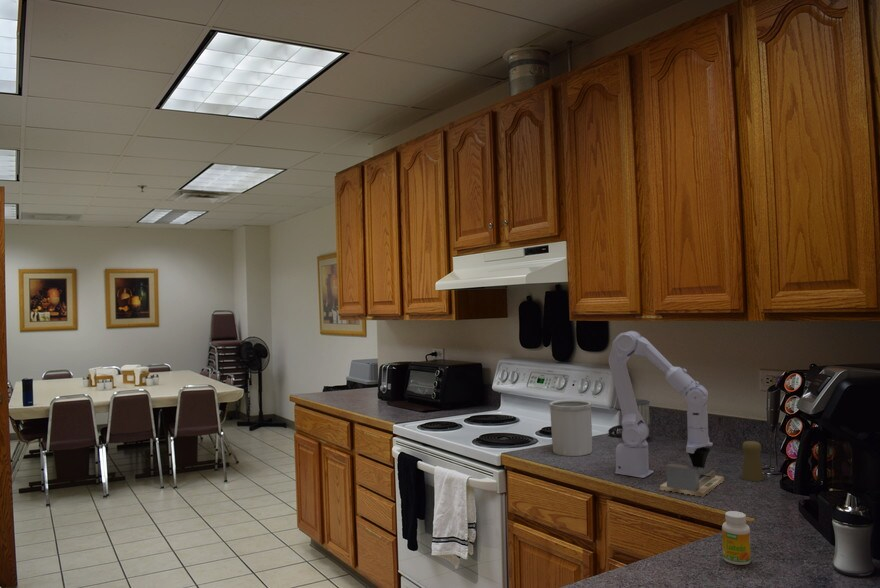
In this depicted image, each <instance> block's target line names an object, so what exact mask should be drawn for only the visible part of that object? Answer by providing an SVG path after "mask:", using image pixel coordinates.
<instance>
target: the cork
mask: <svg viewBox="0 0 880 588" xmlns="http://www.w3.org/2000/svg"><path fill="white" fill-rule="evenodd" d="M741 447H742V451H743V452H744V453H743V460H742V461H743V462H742V463H743V464H742V469H741V470H742V471H741V479H742V480H745V481H748V482H762V481H761V480H763V479H764V480H765V478H764V472H763V471H764V470H763V466H762V465H763V464H762V459H761V453H762V445H761V443H760V442H758V441H755V440H746V441H744V442H742V445H741ZM764 480H763V481H764Z"/></svg>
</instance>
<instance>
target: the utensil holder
mask: <svg viewBox="0 0 880 588" xmlns="http://www.w3.org/2000/svg"><path fill="white" fill-rule="evenodd" d="M548 405H549V409H550V410H549V411H550V426H551V427H550V428H551V444H552V445H551V446H552V451H553V453H554V454H555V455H559V456H566V457H580V456H587V455H590V454H591V453H592V451H593V447H592V446H593V427H592V426H593V425H592V424H593V423H592V407H593V406H592V402H591V401H589V400H586V399H573V398H572V399H570V398H569V399H559V400H557V399H556V400H552V401H550V402H549V404H548Z"/></svg>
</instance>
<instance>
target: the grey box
mask: <svg viewBox="0 0 880 588" xmlns="http://www.w3.org/2000/svg"><path fill="white" fill-rule="evenodd" d="M692 466H693V465H692ZM692 466H691V465H684V464H677V463H668V464H666V465H665V467H666V481H667V487H671V488H677V489H682V490H688V491H694V492H696V491H697V490H699V467H692Z"/></svg>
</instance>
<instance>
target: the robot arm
mask: <svg viewBox="0 0 880 588" xmlns="http://www.w3.org/2000/svg"><path fill="white" fill-rule="evenodd" d="M611 345H612V346H611V350H610V353H609V355H608V364H609V368H610V369H609V370H610V373H611V376H612V377H611V378H612V381H613V384H614V388H615V392H616V395H617V396H616V397H617V400H618V404H619V408H620V412H621V414H622V415H621V416H622V419H621V425H622V427H623V429H622V432H621V433H622V437H621V440H622V441H623V442H620V443H618V444H617V445H616V448H615V472H614V474H616V475H617V474H618V475H621V476H622V475H624V476H629V477H630V476H631V477H635V478H641V479H645V478H646V477H648V476H650V475H652V474H653V473H655V472H654V470H652V469H649V468H650V466H649V443H648V442H647V441H646V438H647V437H648V435H649V428H648V426H647V425H646V424H645V422H644V421H643V417H642V415H641V414H640V413H639V410H638V407H637V403H636V399H637V398H636V396H635V392H634V388H633V384H632V381H631V377H630V373H629V370H628V366H627V365H628V364H627V362H628V361H629V359H630V358H631V356H632V355H637V356H643V357H645V358H646V359H648V360H649V361H650V363H652V364H653V365H655V366H656V367H657V368H658V369H659V370H660V371H661V372H663V373H664V374H665V381H666V382H668V384H670V386H671V387H673V389H674V390H676V391H677V392H678V393H679V394H680V395H681V396H683V397H684V401H685V403H686V404H687V411H686V416H687V417H686V419H687V420H686V422H687V423H686V424H687V425H686V426H687V428H686V429H687V441H686V446H685V448H686V449H685V451H686V452H685V453H687V454H688V456H689V459H690V461H691V463H692V466H693V467H700V468H704V469H705V466H706V462H707V459H708V455H709V453H710V451H711V448H710V447H712V446H713V445H714V444H713V442H711V441H710V437H709V415H708V413H709V412H708V403H707V401H708V399H709V391H708V390H707V388H706V387H705V385H702V384H700V382H699V380H698V381H697V380H695V379H694V378H692V377H691V376H690V375H689V374H688V373H687V372H688V370H687V369H686V368H682V367H680V366H674V365H672V364H671V363H670V362H669V360H668V359H667V358H665V356H663V355H662V354H661V352H660V351H659V350H658V349H657V348H656V347H655V346H654V344H652V343H651V342H650V341H649V340H648V339H647V338H645V336H642V335H641V334H640V332H637V330H636V331H635V330H629V331H628V330H627V331H626V332H621V333H619V334H618V335H616V337H615V338H614V340H613V341H612V344H611Z"/></svg>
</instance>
